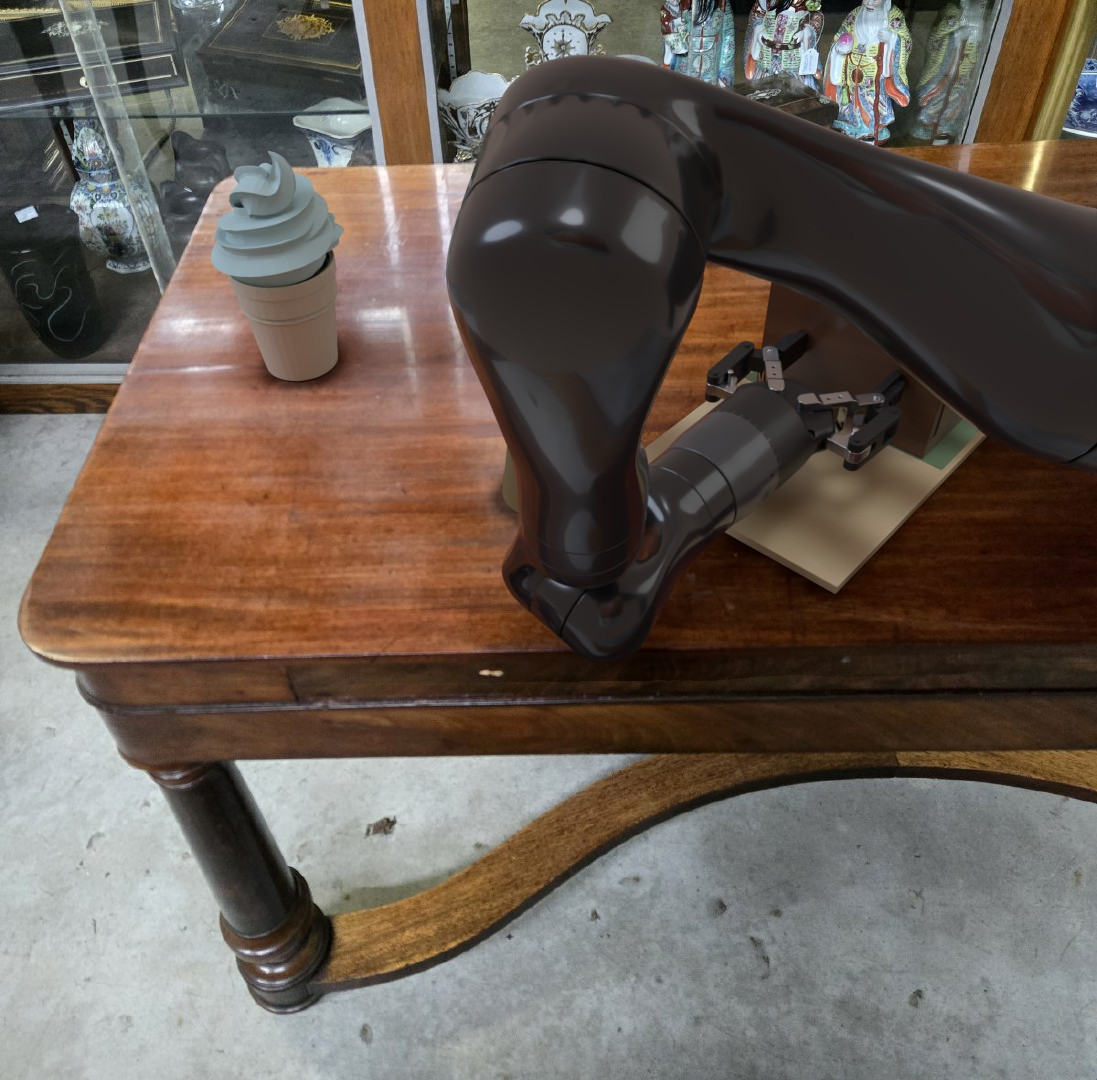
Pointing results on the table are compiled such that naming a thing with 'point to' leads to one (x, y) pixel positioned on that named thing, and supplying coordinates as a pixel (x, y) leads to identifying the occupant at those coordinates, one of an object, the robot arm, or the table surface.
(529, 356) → the robot arm
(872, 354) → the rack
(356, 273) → the table surface
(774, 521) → the board
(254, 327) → the ice cream cone
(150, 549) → the table surface
